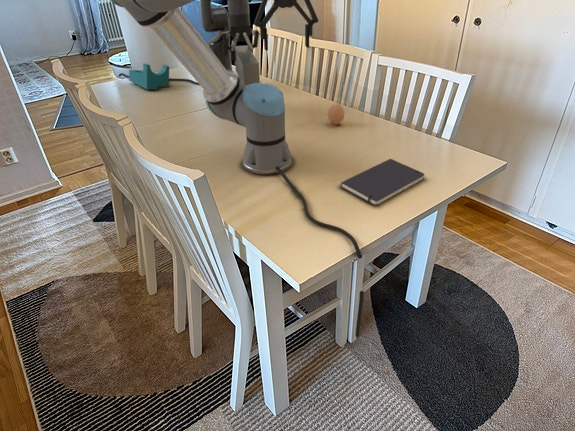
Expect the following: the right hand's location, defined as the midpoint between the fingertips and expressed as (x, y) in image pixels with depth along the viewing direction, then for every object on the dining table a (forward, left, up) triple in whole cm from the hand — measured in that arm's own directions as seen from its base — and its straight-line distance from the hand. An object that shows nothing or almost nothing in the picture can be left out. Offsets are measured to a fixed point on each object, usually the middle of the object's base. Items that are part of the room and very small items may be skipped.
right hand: (286, 48), depth 132 cm
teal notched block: (+65, +55, -28) cm, 89 cm away
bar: (+16, +13, -14) cm, 25 cm away
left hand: (+25, +13, -9) cm, 30 cm away
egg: (-1, -17, -28) cm, 33 cm away
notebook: (-45, -19, -28) cm, 56 cm away
